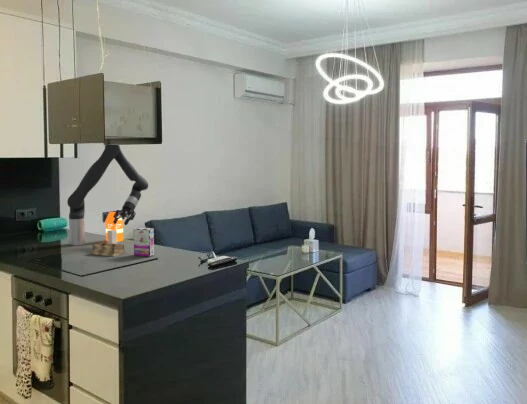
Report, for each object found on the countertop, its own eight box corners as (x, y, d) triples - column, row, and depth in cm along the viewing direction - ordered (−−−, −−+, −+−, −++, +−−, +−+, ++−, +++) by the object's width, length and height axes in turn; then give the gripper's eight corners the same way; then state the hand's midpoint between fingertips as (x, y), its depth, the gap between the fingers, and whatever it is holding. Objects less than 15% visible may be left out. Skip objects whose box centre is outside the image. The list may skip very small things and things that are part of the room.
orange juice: (114, 242, 326) (113, 213, 323) (105, 241, 330) (104, 212, 328) (123, 240, 332) (122, 211, 330) (114, 239, 337) (114, 211, 335)
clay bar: (107, 249, 302) (107, 230, 301) (112, 248, 306) (112, 229, 305) (112, 250, 301) (111, 231, 300) (117, 248, 305) (116, 230, 304)
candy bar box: (154, 255, 287) (154, 228, 285) (150, 257, 282) (149, 229, 280) (138, 253, 291) (137, 227, 289) (133, 255, 286) (133, 228, 284)
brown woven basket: (90, 253, 289) (90, 245, 289) (103, 250, 300) (103, 242, 299) (113, 256, 283) (113, 247, 282) (125, 252, 293) (125, 244, 293)
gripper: (118, 200, 318) (107, 219, 309) (136, 201, 313) (126, 221, 304) (124, 207, 324) (113, 226, 314) (142, 208, 318) (131, 228, 309)
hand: (119, 224), depth 309 cm, fingers open, 8 cm apart
